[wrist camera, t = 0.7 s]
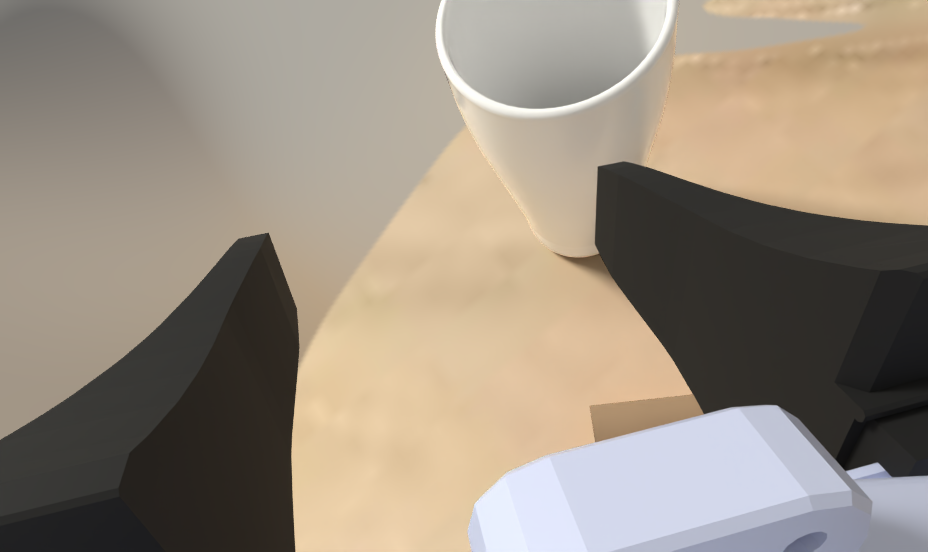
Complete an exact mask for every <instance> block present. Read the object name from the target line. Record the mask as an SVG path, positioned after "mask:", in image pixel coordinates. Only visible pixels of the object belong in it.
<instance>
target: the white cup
mask: <svg viewBox="0 0 928 552" xmlns="http://www.w3.org/2000/svg"><path fill="white" fill-rule="evenodd" d="M678 11H679V0H441V4H440V7H439V10H438V15H437V20H436V45H437V51H438V55H439V59H440V62H441V65H442V67H443V70H444V72H445V75H446V78H447V80H448V83H449V86H450V88H451V91H452V94H453V96H454V99H455V101H456V103H457V106H458V108H459V111H460V113H461V115H462V117H463V119H464V121H465V123H466V125H467V127H468V129H469V131H470V133H471V135H472V137H473V139H474V141H475V142H476V144H477V146H478V148H479V149H480V151H481V152H482V154H483V155H484V157H485V159H486V160H487V162H488V163H489V164H490V166H491V167H492V169H493V170H494V172H495V173H496V175H497V176H498V178H499V179H500V181H501V182H502V183H503V185H504V186H505V188H506V189H507V191H508V192H509V194H510V195H511V196H512V198H513V199H514V201H515V202H516V204H517V205H518V207H519V208H520V210H521V211H522V213H523V214H524V216H525V218H526V219H527V221H528V224H529V226H530V228H531V230H532V232H533V234H534V235H535V237H536V238H537V239H538V240H539V242H541V243H542V244H543V245H544V246H545V247H546V248H548V249H549V250H551V251H553V252H555V253H557V254H560V255H563V256H567V257H576V258H579V257H589V256H593V255H597V254H599V252H598V250H597V248H596V246H595V222H596V195H597V169H598V166H603V165H608V164H613V163H617V162H622V161H625V162H630V163H634V164H638V165H641V166H645V167H646V165H647V162H648V159H649V156H650V153H651V150H652V147H653V144H654V141H655V138H656V135H657V132H658V129H659V126H660V123H661V120H662V116H663V113H664V109H665V105H666V101H667V96H668V92H669V87H670V81H671V76H672V70H673V63H674V55H675V44H676V33H677V19H678Z"/></svg>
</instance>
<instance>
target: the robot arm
mask: <svg viewBox="0 0 928 552" xmlns="http://www.w3.org/2000/svg"><path fill="white" fill-rule="evenodd" d="M595 246H596V248H597V250H598V252H599V254H600V256H601V258H602V260H603V262H604V263H605V265H606V267H607V269H608V271H609V272H610V274H611V276H612V278H613V279H614V281H615V282H616V283H617V285H618V286H619V287H620V289H621V290H622V292H623V293H624V294H625V296H626V297H627V298H628V300H629V301H630V302H631V304H632V305H633V306H634V308H635V309H636V310H637V312H638V313H639V314H640V316H641V317H642V318H643V320H644V321H645V322H646V324H647V325H648V326H649V328H650V329H651V330H652V331H653V333H654V334H655V335H656V337H657V338H658V339H659V341H660V342H661V343H662V345H663V346H664V348H665V349H666V351H667V352H668V353H669V355H670V356H671V358H672V359H673V361H674V362H675V364H676V366H677V368H678V369H679V371H680V373H681V374H682V376H683V378H684V380H685V381H686V383H687V385H688V386H689V388H690V390H691V392H692V393H693V395H694V397H695V399H696V400H697V402H698V404H699V406H700V408H701V410H702V412H703V413H704V415H700V416H696V417H692V418H688V419H684V420H680V421H676V422H673V423H669V424H665V425H661V426H657V427H653V428H649V429H646V430H642V431H638V432H634V433H630V434H626V435H622V436H618V437H615V438H611V439H607V440H603V441H599V442H595V443H591V444H588V445H584V446H580V447H576V448H572V449H568V450H564V451H560V452H557V453H553V454H549V455H546V456H543V457H541V458H539V459H536V460H534V461H532V462H529V463H527V464H525V465H522V466H520V467H518V468H515V469H513V470H511V471H508V472H507V473H506V474H505V475H503V476H502V477H501V478H500V479H499V480H498V481H497V482H496V483H495V484H494V485H493V486H492V487H491V488H489V489H488V490H487V491H486V492H485V493H484V494H483V495H482V496H481V497H480V498H479V499H478V501H477V502H476V503H475V505H474V509H473V513H472V516H471V520H470V524H469V528H468V537H469V542H470V547H471V552H928V226H924V225H909V224H894V223H882V222H871V221H861V220H853V219H846V218H839V217H831V216H824V215H818V214H812V213H806V212H800V211H795V210H791V209H786V208H781V207H776V206H771V205H767V204H763V203H759V202H755V201H751V200H747V199H744V198H740V197H737V196H733V195H730V194H726V193H723V192H720V191H716V190H713V189H710V188H707V187H704V186H701V185H698V184H695V183H692V182H689V181H686V180H683V179H680V178H677V177H674V176H672V175H669V174H666V173H663V172H660V171H657V170H654V169H651V168H648V167H645V166H641V165H638V164H634V163H630V162H625V161H622V162H617V163H613V164H608V165H603V166H598V169H597V195H596V222H595ZM298 358H299V333H298V319H297V308H296V305H295V303H294V300H293V297H292V295H291V292H290V289H289V286H288V284H287V281H286V278H285V276H284V273H283V270H282V268H281V265H280V262H279V260H278V257H277V254H276V252H275V249H274V246H273V243H272V241H271V238H270V235H269V233H265V234H260V235H255V236H250V237H245V238H241V239H238V240H237V241H236V242H235V243H234V244H233V245H232V246H231V247H230V248H229V250H228V251H227V252H226V253H225V254H224V255H223V257H222V258H221V259H220V260H219V261H218V263H217V264H216V265H215V266H214V267H213V269H212V270H211V271H210V272H209V273H208V274H207V276H206V277H205V278H204V279H203V280H202V281H201V282H200V283H199V285H198V286H197V287H196V288H195V289H194V290H193V291H192V293H191V294H190V295H189V296H188V297H187V298H186V299H185V300H184V301H183V302H182V303H181V304H180V305H179V306H178V307H177V308H176V309H175V310H174V311H173V312H172V313H171V314H170V315H169V316H168V318H167V319H165V321H164V322H163V323H162V324H161V325H160V326H158V328H156V330H154V331H153V332H152V333H151V334H150V335H149V336H148V337H147V338H146V339H145V340H143V341H142V342H141V343H140V344H139V345H137V346H136V347H135V348H134V349H133V350H131V351H130V352H129V353H128V354H127V355H126V356H124V357H123V358H122V359H121V360H119V361H118V362H117V363H116V364H114V365H113V366H112V367H110V368H109V369H108V370H106V371H105V372H103V373H102V374H101V375H99V376H98V377H97V378H96V379H94V380H93V381H91V382H90V383H88V384H87V385H86V386H84V387H83V388H81V389H80V390H79V391H77V392H76V393H75V394H73V395H72V396H70V397H69V398H67V399H66V400H64V401H63V402H61V403H60V404H58V405H57V406H55V407H54V408H52V409H51V410H49V411H47V412H46V413H44V414H43V415H41V416H39V417H38V418H36V419H35V420H33V421H31V422H30V423H28V424H27V425H25V426H23V427H21V428H20V429H18V430H16V431H15V432H13V433H11V434H10V435H8V436H6V437H4V438H3V439H1V440H0V552H295V538H294V518H293V498H292V465H291V447H292V429H293V417H294V406H295V394H296V383H297V371H298Z"/></svg>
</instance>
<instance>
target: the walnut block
mask: <svg viewBox="0 0 928 552" xmlns="http://www.w3.org/2000/svg"><path fill="white" fill-rule="evenodd" d="M590 412H591V418H592V424H593V431H594V437H595V442H599V441H603V440H607V439H611V438H615V437H618V436H622V435H626V434H630V433H634V432H638V431H642V430H646V429H649V428H653V427H657V426H661V425H665V424H669V423H673V422H676V421H680V420H684V419H688V418H692V417H696V416H700V415H704V413H703V412H702V410H701V408H700V406H699V404H698V402H697V400H696V399H695V397H694V395H684V396H675V397H666V398H656V399H647V400H638V401H629V402H620V403H610V404H601V405H592V406H590Z"/></svg>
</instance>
